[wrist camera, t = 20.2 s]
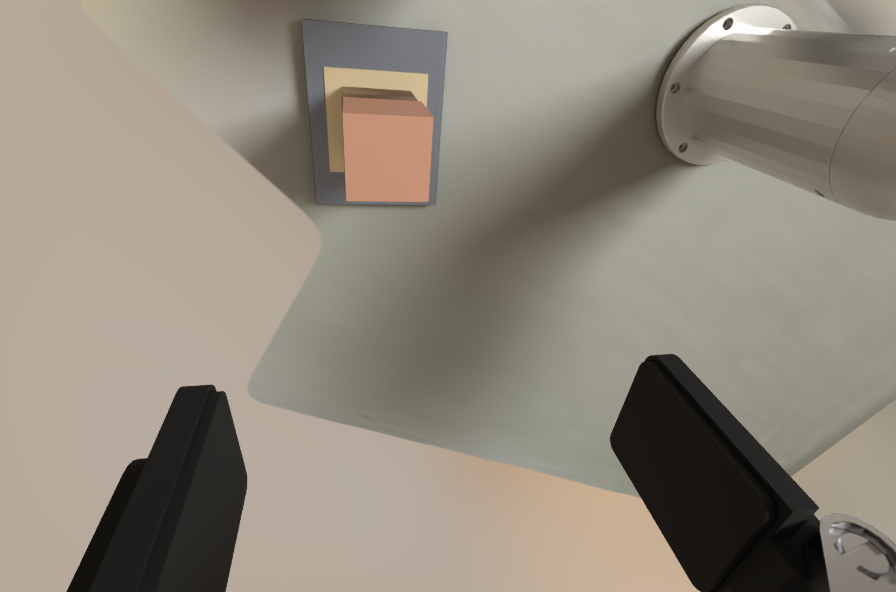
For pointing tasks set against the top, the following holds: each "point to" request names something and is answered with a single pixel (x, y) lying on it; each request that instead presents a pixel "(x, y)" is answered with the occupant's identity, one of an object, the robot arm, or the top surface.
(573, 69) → the top surface
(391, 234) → the top surface
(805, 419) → the top surface
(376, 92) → the walnut block
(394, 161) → the terracotta block
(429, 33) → the board
